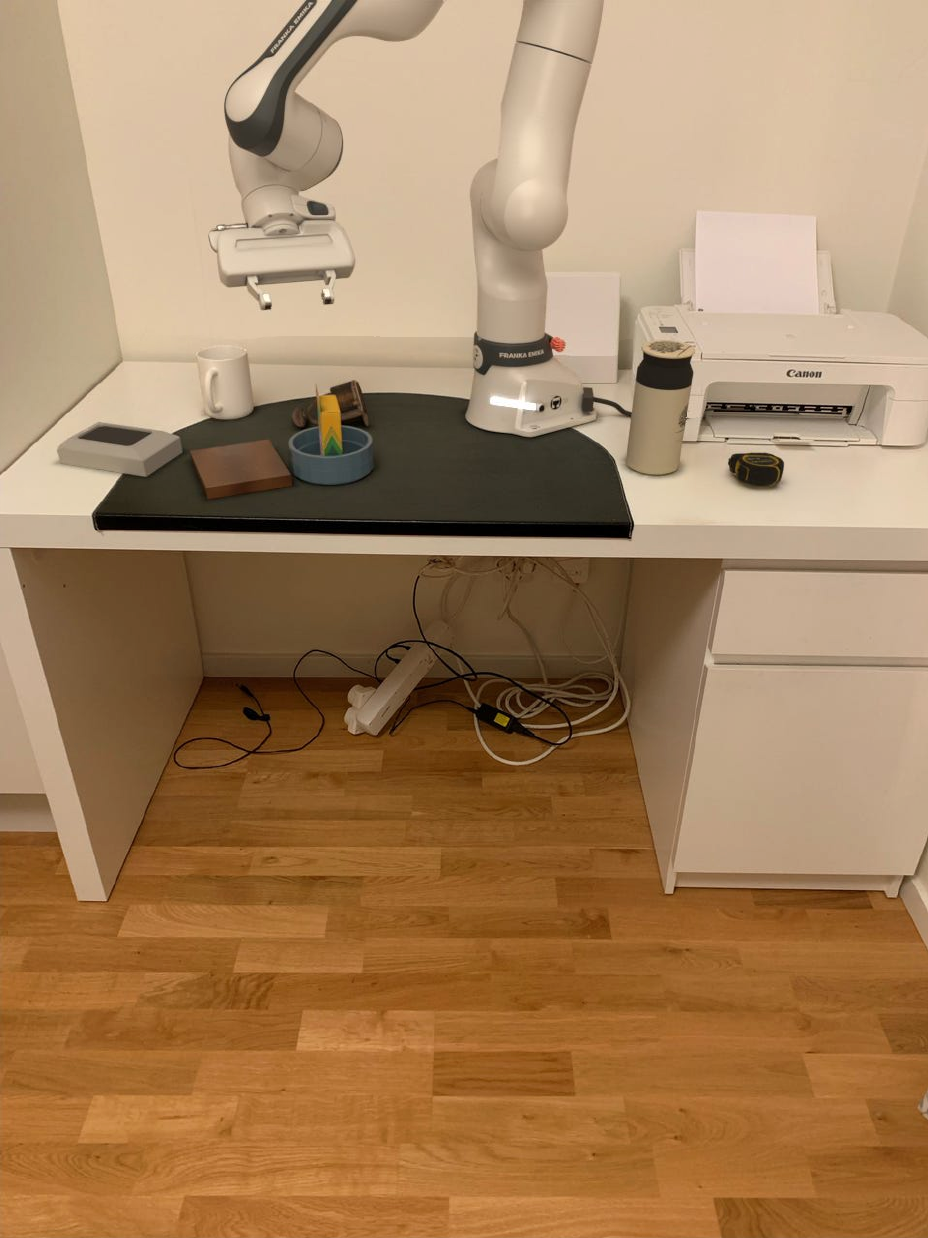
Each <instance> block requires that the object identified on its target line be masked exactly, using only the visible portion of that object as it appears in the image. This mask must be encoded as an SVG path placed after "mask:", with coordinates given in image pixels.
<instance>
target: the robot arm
mask: <svg viewBox="0 0 928 1238" xmlns="http://www.w3.org/2000/svg"><path fill="white" fill-rule="evenodd" d="M444 3H445V0H304V2H303V3H302V4H301V6H300V7H299V8H298V9H297V10H296V12H294V14H293V15H292V17H291V18H290V19H289V20H288V21H287V23H286V24H285V26H283V27H282V29H281V30H280V31H279V33H278V34H277V35H276V36H275V37H274V39H273V40H272V41H271V43H270V44H269V45H268V46H267V48H266V49H265V50H264V51H263V52H262V54H261V55H260V56H259V57H258V58H257V59H256V60H255V62H253V63H252V64H251V65H250V66H249V67H247V68H246V69H245V70H244V71H243V72H241V73H240V74H239V75H238V76H237V77H236V78H235V80H234V81H233V82H232V83H231V84H230V86H229V87H228V89H227V92H226V95H225V98H224V103H223V113H224V119H225V124H226V128H227V131H228V134H229V135H228V143H227V144H228V146H227V147H228V157H229V163H230V168H231V172H232V177H233V181H234V184H235V187H236V189H237V191H238V192H239V194H240V197H241V200H240V201H241V203H240V205H241V212H242V214H243V218H244V222H242V223H241V222H240V223H239V222H238V223H232V224H225V223H223V224H222V223H221V224H216V226H215V227H214V228H212V229H211V230H210V231H209V232H208V241H209V246H210V248H211V250H212V251H213V252H214V253H215V254H216V259H217V260H216V262H217V263H216V264H217V270H218V277H219V280H220V283H221V284H222V285H224V286H225V287H226V288H240V287H241V288H242V287H246V288H247V292H248V293H249V294H250V295H251V296H252V297H253V298H254V299H255V300H256V301H257V302H258V305H259V309H260V311H271V310H272V307H273V303H272V300H271V295H270V293H269V292H267V293H266V292H265V293H264V292H263V290H262V289H260V287H259V286H265V285H277V284H290V283H302V282H316V281H317V282H318V281H323V282H324V285H325V286H327V288H322V290H321V293H320V297H321V300H322V304H323V305H324V306H326V305H327V306H328V305H334V303H335V294H334V286H335V283H336V280H340V279H342V280H343V279H349V278H350V277H351V276H352V274H353V273H354V270H355V267H356V256H355V253H354V250H353V249H354V248H353V246H352V244H351V241H350V239H349V236H348V234H347V231H346V230H345V228H344V226H343V225H341V223H339V222H338V221H336V219H337V218H336V216H337V212H336V207H334V205H332V204H330V203H327V202H322V201H318V200H314V199H310V198H308V197H304V196H301V195H300V192H305V191H307V190H309V189H311V188H313V187H315V186H317V185H319V184H320V183H322V182H324V181H325V180H326V179H328V178H329V177H330V176H332V174H334V173H335V172H336V170H337V169H338V167H339V165H340V163H341V161H342V157H343V153H344V137H343V136H344V135H343V132H342V128H341V126H340V124H339V122H338V121H337V120H336V118H333V117H331V115H329V114H328V113H327V112H325V111H324V110H323V109H322V108H320V107H319V106H317V105H315V104H314V103H313V102H311V101H309V100H307V99H305V97H303V96H302V95H300V94H299V93H297V92H296V90H297V88H298V87H299V86H300V85H301V83H302V82H303V81H304V79H305V78H306V77H307V76H308V75H309V73H310V72H311V71H312V70H313V68H314V67H315V66H316V65H317V64H318V62H319V61H320V60H321V59H322V57H323V56H324V55H325V54H326V53H327V52H328V50H330V48H331V47H332V46H334V44H335V43H338V42H339V41H340V40H343V39H346V38H351V37H363V38H364V37H366V38H371V39H376V40H379V41H383V42H392V43H398V42H405V41H409V40H412V39H415V38H417V37H418V36H419V35H420V34H422V33H423V32H424V31H425V30H426V29H427V28H428V26H429V25H431V23H432V22H433V21H434V19H435V17H436V16H437V15H438V13H439V12H440V10H441V8H442V7H443V5H444ZM604 5H605V0H522V11H521V17H520V22H519V26H518V30H517V35H516V38H515V43H514V46H513V51H512V56H511V59H510V65H509V68H508V72H507V76H506V81H505V85H504V90H503V94H502V99H501V102H500V132H499V143H498V153H497V158H494V159H492V160H489V161H488V162H486V163H485V164H483V165H482V166H481V167H480V168H479V169H478V170H477V171H476V173H475V174H474V175H473V177H472V180H471V183H470V188H469V201H470V207H471V209H470V210H471V225H472V226H471V227H472V228H471V229H472V241H473V251H474V263H475V269H476V270H475V271H476V282H477V283H476V289H477V290H476V291H477V292H476V331H475V332H474V334H473V347H472V363H473V364H472V366H473V369H474V372H473V380H472V386H471V392H470V396H469V402H468V405H467V409H466V411H465V415H464V418H465V420H466V421H467V422H468V423H469V424H470V425H472V426H473V427H476V428H479V429H480V430H485V431H489V432H495V433H501V434H502V433H503V434H512V435H517V436H520V437H524V438H533V437H538V436H541V435H545V434H549V433H553V432H557V431H561V430H565V429H568V428H572V427H575V426H576V427H577V426H579V425H583V424H587V423H590V422H594V421H596V420H597V410H596V409H595V406H594V403H596V404H597V403H598V404H601V405H606V406H609V407H612V408H613V409H615V410H617V412H618V413H620V414H621V415H623V416H626V417H629V418H631V415H632V411H629V410H626V409H624V408H623V407H622V406H621V405H620V404H619V403H617V402H615V401H613V400H611V399H606V398H602V397H597V396H595V395H594V390H593V387H589V386H588V387H587V386H586V387H585V386H583V383H582V380H581V379H580V376H578V375H577V374H576V373H575V372H573V371H572V370H571V369H570V368H569V367H568V366H566V365H565V364H564V363H563V362H562V361H560V360H559V359H558V358H557V357H556V356H555V355H554V352H553V351H555V352H557V353H562V352H564V351H565V349H566V346H567V344H566V341H565V339H561V338H560V337H559V336H555V337H553V336H552V335H550V334H548V333H547V332H546V321H547V319H546V318H547V304H548V303H547V302H548V289H549V288H548V287H549V286H548V285H549V284H548V279H547V276H546V270H545V263H544V255H543V250H544V249H547V248H548V247H550V246H553V244H554V243H555V242H556V241H558V239H560V237H561V236H562V234H563V232H564V231H565V229H566V227H567V224H568V223H567V222H568V219H569V206H568V205H569V204H568V187H569V182H570V181H569V180H570V175H571V174H570V173H571V165H572V155H573V147H574V138H575V133H576V129H577V128H576V127H577V123H578V119H579V115H580V111H581V106H582V103H583V99H584V96H585V92H586V88H587V84H588V81H589V77H590V74H591V70H592V66H593V65H592V64H593V62H594V59H595V55H596V50H597V46H598V42H599V37H600V31H601V25H602V19H603V11H604Z"/></svg>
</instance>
